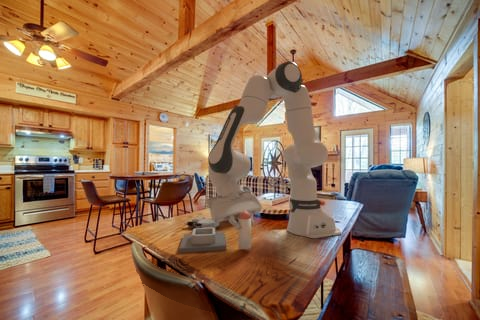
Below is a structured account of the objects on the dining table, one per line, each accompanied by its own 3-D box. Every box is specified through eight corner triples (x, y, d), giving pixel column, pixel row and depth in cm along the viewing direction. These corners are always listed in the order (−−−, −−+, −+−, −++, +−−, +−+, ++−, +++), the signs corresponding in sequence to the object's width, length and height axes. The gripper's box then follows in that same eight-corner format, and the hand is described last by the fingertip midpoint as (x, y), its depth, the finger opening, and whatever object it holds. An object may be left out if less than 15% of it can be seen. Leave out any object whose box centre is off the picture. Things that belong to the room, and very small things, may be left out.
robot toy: (182, 230, 96) (204, 235, 87) (182, 220, 97) (203, 224, 87) (203, 223, 106) (224, 227, 96) (202, 214, 106) (224, 217, 96)
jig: (224, 235, 87) (224, 224, 87) (226, 250, 73) (226, 237, 73) (184, 237, 85) (184, 226, 85) (179, 252, 71) (179, 239, 71)
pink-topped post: (250, 243, 75) (249, 209, 75) (252, 248, 71) (251, 212, 71) (237, 244, 75) (237, 210, 74) (239, 249, 70) (239, 213, 70)
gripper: (208, 192, 72) (223, 228, 64) (254, 187, 84) (271, 216, 76) (202, 203, 76) (216, 238, 68) (247, 196, 88) (263, 225, 80)
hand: (245, 226), depth 72 cm, fingers closed on pink-topped post, 4 cm apart
